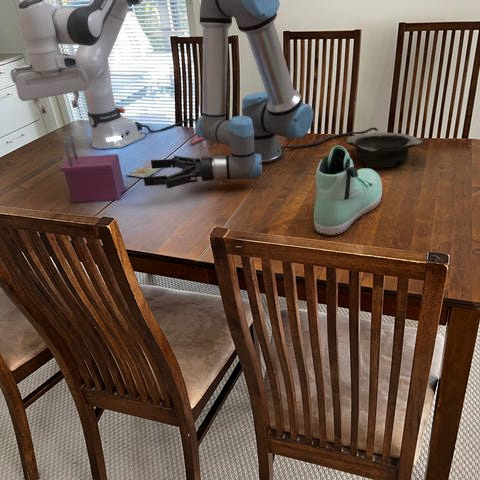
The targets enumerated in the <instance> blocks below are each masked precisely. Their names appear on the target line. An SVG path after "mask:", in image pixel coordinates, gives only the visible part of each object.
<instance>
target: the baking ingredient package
mask: <svg viewBox="0 0 480 480" xmlns="http://www.w3.org/2000/svg"><path fill="white" fill-rule="evenodd" d="M151 160H152V159H150V160H148V161H147V162H145V163H144V164H141V165H140V166H138V167H137V168H135V169H134V170H132V171H130V172H128V173H127V174H126V176H131V177H138V178H144V177H151V176H152V175H153V174H155V173H158V171H160V170H162V168H156V169H152V165H151Z"/></svg>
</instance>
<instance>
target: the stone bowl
mask: <svg viewBox="0 0 480 480" xmlns="http://www.w3.org/2000/svg"><path fill="white" fill-rule="evenodd" d="M420 144H423V141H422V139H419V138H418V137H416V136H413V135H411V134H405V133H398V132H371V133H370V132H367V133H363V134H354V135H350V136H349V137H347V139H346V145H349V146H351V147H354V149H355V153H356V155H357V156H358V158H359V159H360V160H361V161H363V162H365V167H366V168H368V169H372V168H373V169H383V168H392V167H394V166H396V165H397V163H405V162H406V161H407V160H408V156H409V149H412V148H414V147H417V146H419V145H420Z"/></svg>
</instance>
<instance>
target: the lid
mask: <svg viewBox="0 0 480 480" xmlns="http://www.w3.org/2000/svg"><path fill="white" fill-rule="evenodd" d="M74 141H75V137H74V136H73V135H69V136H68V137H66V139H65V140H64V141H63V142H62V144H61V146H62V147H63V148H64V150H65V154H66V158H67V159H66V161H65V162H63V164H62V165H61V166H60V168H59V170H60V172H63V173H64V171H80V170H96V169H112V167H113V166H114V164H115V162H116V161H117V159H118V158H119V155H118V153H117V154H102V155H87V156H78V154H77V151H76V147H75V143H74ZM70 145H71V149H72V154H73V156H71V154H70V150H69V146H70Z"/></svg>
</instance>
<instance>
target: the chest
mask: <svg viewBox="0 0 480 480" xmlns="http://www.w3.org/2000/svg"><path fill="white" fill-rule="evenodd" d="M63 174H64V178H65V181H66V185H67V188H68V192H69V195H70V199H71V202H72V203H84V202H85V203H86V202H87V203H88V202H103V201H119V200H120V199H121V196H122V195H123V192H124V190H125V189H126V188H125V187H126V186H125V182H124V177H123V173H122V168H121V163H120V158H119V157H118V159H117V161H116V162H115V164H114V166H113V167H112V169H96V170H80V171H64V172H63Z"/></svg>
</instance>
